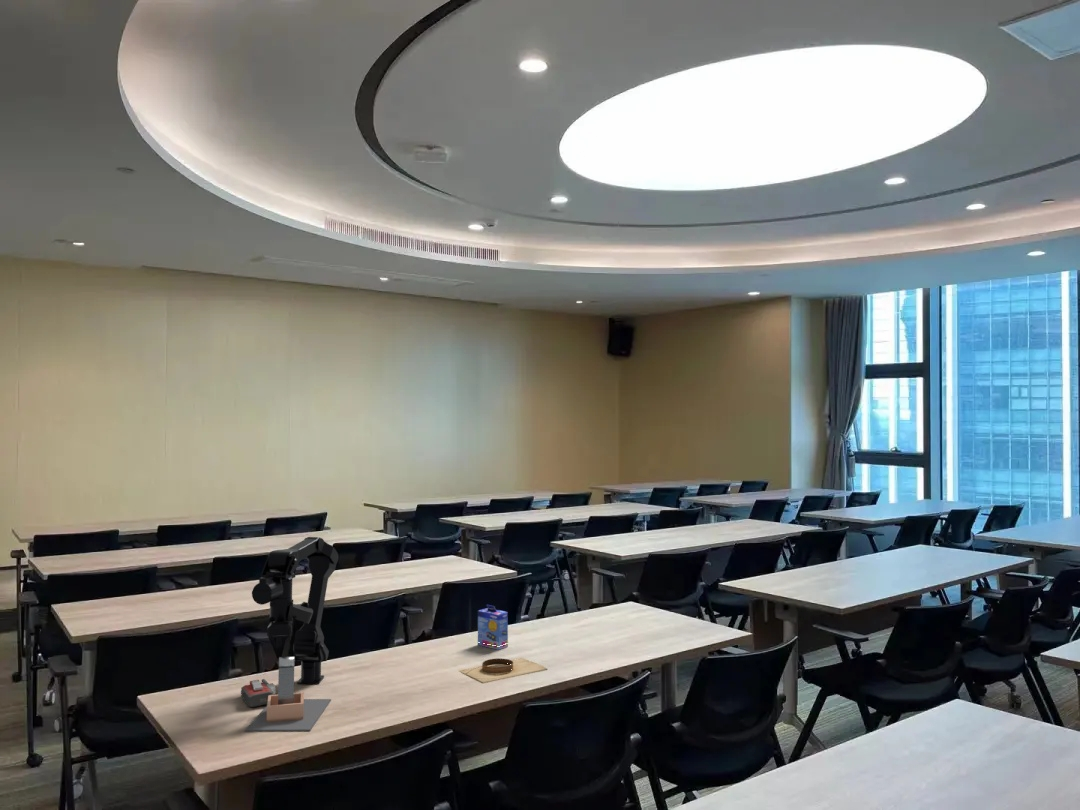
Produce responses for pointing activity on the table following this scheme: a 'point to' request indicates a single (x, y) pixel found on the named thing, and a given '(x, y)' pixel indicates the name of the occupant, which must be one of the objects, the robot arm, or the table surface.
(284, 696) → the grey block
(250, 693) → the grey red device
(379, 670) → the table surface
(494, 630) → the ink cartridge box
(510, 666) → the board
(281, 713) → the open box
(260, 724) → the mat
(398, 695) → the table surface
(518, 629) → the table surface
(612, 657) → the table surface
